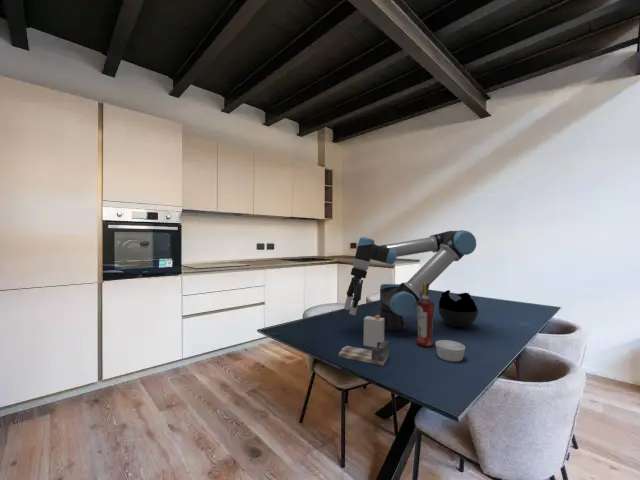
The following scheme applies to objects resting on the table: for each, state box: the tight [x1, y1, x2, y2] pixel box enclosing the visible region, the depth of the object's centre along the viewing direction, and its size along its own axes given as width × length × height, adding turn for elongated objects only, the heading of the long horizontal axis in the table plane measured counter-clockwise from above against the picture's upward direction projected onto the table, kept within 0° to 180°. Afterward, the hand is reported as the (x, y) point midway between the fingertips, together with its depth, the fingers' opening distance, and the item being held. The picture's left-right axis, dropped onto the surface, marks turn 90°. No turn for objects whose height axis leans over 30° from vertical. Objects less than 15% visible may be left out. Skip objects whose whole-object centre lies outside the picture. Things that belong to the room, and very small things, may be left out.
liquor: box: [416, 282, 435, 348], centre depth 135 cm, size 7×7×28 cm
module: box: [363, 314, 385, 349], centre depth 135 cm, size 8×5×13 cm, turn 64°
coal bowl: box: [437, 289, 479, 328], centre depth 165 cm, size 20×20×19 cm
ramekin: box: [434, 339, 466, 363], centre depth 122 cm, size 11×11×5 cm
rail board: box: [338, 339, 390, 366], centre depth 121 cm, size 18×9×6 cm, turn 64°
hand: (349, 311), depth 145 cm, fingers open, 13 cm apart
